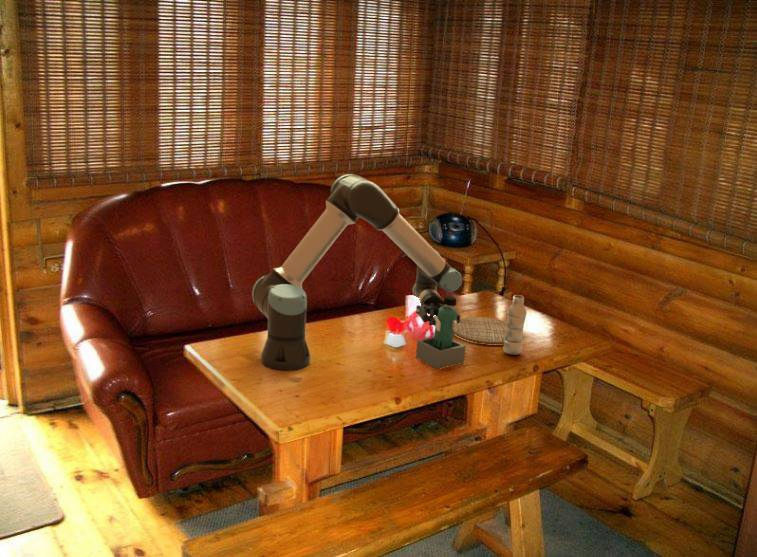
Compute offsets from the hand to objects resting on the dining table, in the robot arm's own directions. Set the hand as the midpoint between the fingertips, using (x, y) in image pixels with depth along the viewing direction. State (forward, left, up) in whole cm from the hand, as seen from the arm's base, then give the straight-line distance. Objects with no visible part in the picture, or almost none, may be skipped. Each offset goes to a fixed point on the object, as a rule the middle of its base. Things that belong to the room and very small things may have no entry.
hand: (447, 326), depth 255 cm
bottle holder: (-5, +2, -14) cm, 15 cm away
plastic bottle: (+2, +28, -14) cm, 32 cm away
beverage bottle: (-5, +2, -12) cm, 13 cm away
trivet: (-17, +34, -14) cm, 41 cm away
